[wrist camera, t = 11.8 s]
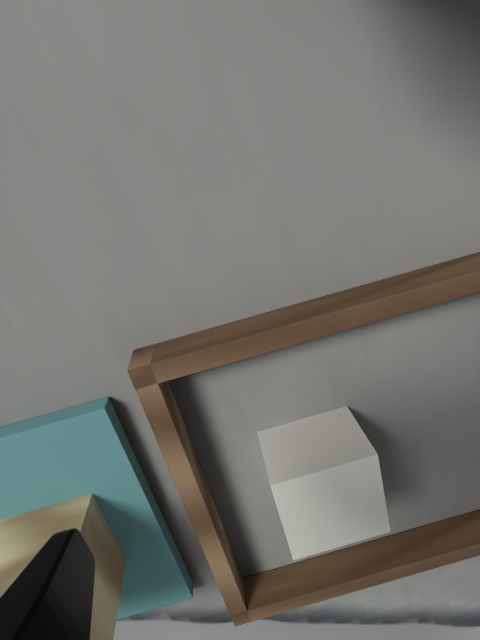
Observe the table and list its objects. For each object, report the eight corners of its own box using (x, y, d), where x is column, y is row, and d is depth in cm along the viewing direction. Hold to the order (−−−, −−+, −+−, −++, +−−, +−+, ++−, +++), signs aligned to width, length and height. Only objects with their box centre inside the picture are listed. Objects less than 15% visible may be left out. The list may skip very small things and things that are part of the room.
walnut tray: (133, 350, 19) (127, 370, 17) (638, 206, 19) (686, 211, 17) (231, 592, 26) (234, 626, 24) (603, 484, 26) (635, 509, 24)
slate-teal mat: (-90, 453, 19) (-104, 467, 19) (108, 396, 20) (104, 408, 19) (36, 626, 25) (31, 644, 24) (192, 581, 25) (192, 597, 24)
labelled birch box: (91, 493, 20) (58, 603, 15) (127, 562, 22) (108, 680, 17) (-4, 520, 20) (-70, 639, 15) (41, 587, 22) (-4, 712, 17)
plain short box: (256, 430, 21) (270, 485, 18) (345, 404, 22) (377, 454, 18) (277, 497, 23) (293, 560, 20) (359, 473, 23) (390, 531, 20)
